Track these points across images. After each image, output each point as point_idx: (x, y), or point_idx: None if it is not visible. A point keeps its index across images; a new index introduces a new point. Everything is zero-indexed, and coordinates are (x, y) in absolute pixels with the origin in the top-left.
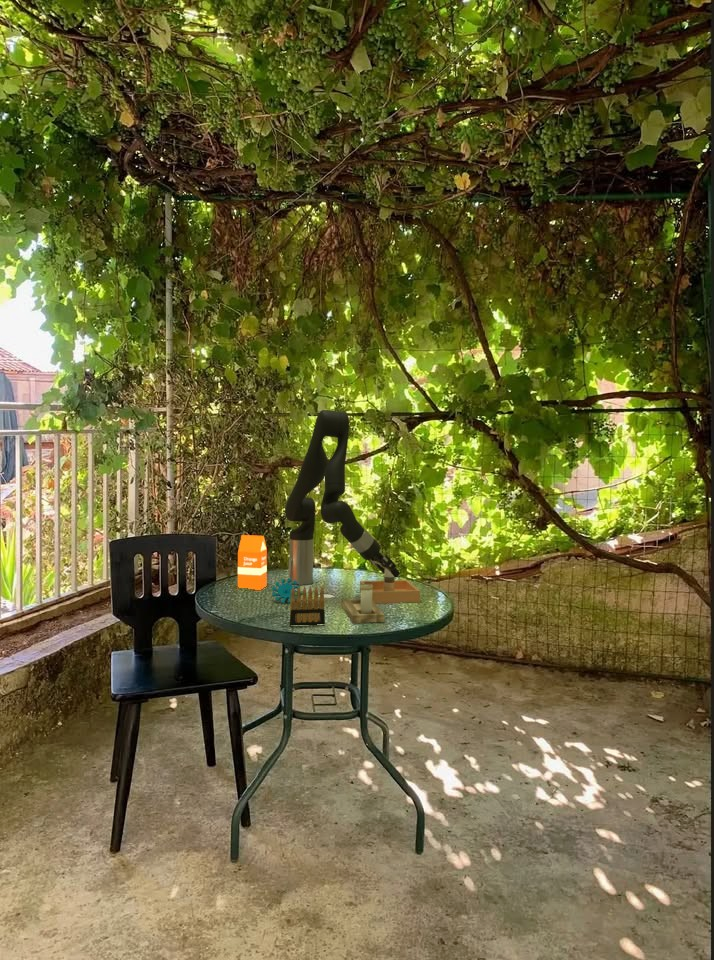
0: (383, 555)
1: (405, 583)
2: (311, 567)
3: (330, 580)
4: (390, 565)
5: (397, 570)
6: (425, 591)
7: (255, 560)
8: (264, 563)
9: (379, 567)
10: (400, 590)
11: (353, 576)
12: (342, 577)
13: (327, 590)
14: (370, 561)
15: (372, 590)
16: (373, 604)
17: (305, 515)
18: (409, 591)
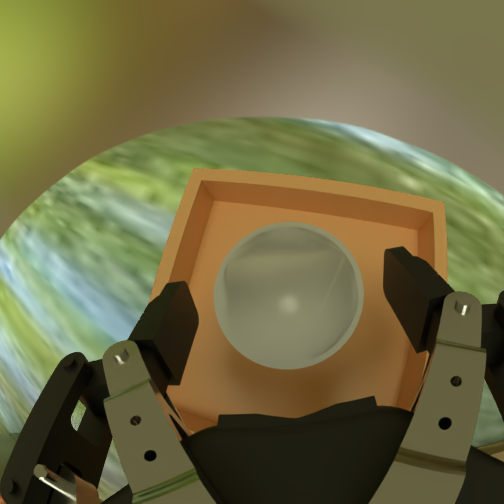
0: (455, 482)
1: (206, 187)
2: (1, 461)
3: (16, 381)
4: (360, 311)
5: (419, 264)
6: (249, 140)
7: None
8: None
9: (180, 368)
10: (239, 234)
11: (8, 291)
12: (5, 327)
13: (108, 484)
14: (108, 445)
15: (189, 369)
16: (501, 459)
17: None
18: (446, 255)
